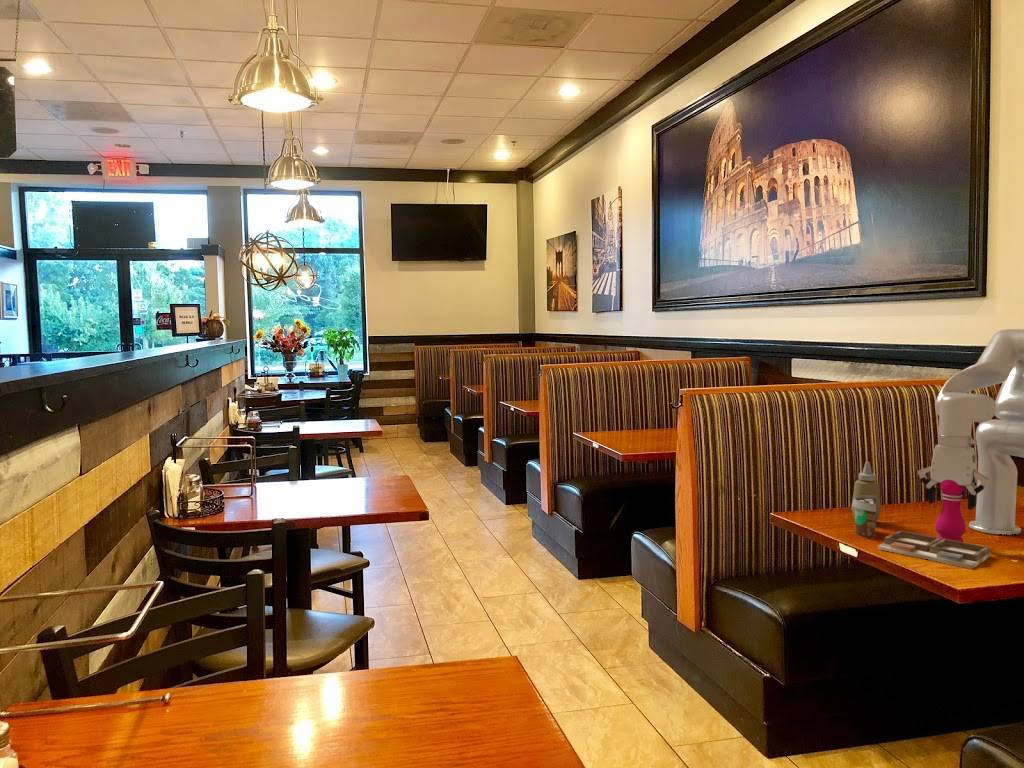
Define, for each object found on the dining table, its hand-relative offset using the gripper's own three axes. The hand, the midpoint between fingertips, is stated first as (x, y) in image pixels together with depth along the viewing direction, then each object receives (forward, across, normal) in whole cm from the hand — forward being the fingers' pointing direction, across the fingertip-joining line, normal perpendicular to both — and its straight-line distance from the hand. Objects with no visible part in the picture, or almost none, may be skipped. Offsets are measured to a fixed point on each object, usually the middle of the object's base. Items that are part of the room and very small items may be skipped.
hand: (951, 505), depth 206 cm
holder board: (+10, 0, +12) cm, 16 cm away
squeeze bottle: (+11, +25, -7) cm, 28 cm away
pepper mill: (+11, 0, 0) cm, 11 cm away
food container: (+11, +20, +7) cm, 24 cm away
